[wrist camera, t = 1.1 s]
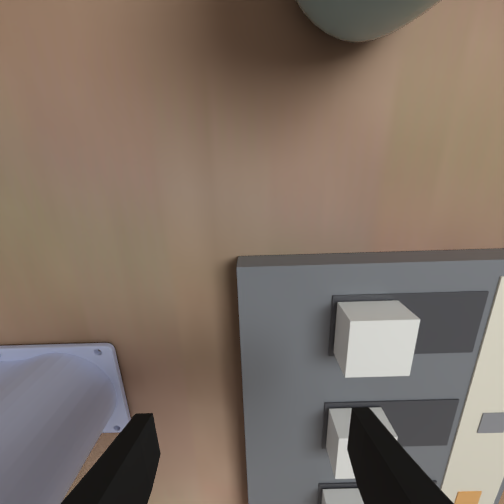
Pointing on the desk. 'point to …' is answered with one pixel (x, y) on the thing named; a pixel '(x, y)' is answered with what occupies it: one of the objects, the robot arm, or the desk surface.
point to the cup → (363, 16)
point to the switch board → (373, 388)
